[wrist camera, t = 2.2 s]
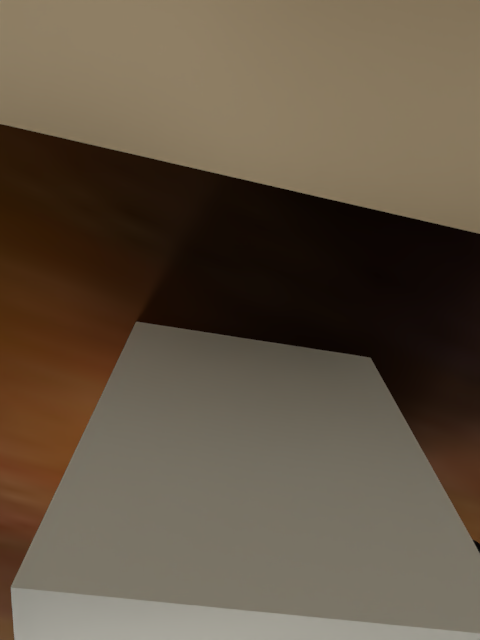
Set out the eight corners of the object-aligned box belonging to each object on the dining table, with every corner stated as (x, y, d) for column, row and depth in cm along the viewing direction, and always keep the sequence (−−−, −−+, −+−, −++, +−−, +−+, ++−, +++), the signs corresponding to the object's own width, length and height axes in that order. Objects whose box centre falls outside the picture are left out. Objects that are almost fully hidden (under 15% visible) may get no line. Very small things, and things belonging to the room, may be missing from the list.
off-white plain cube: (312, 517, 12) (373, 833, 7) (121, 495, 12) (27, 814, 6) (369, 356, 10) (526, 638, 5) (136, 320, 10) (10, 587, 4)
